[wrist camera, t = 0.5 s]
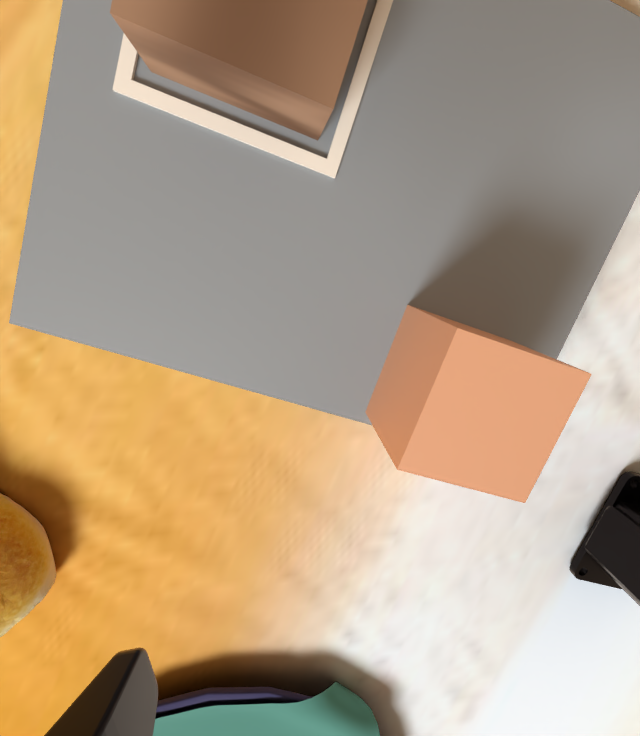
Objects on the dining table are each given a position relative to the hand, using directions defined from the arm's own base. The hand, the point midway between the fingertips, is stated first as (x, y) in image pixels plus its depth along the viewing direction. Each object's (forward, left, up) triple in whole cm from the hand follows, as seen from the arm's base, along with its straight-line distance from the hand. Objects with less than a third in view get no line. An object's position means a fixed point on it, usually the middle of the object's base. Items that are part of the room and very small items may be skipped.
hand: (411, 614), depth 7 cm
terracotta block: (-5, -2, -12) cm, 13 cm away
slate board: (+1, -8, -12) cm, 15 cm away
